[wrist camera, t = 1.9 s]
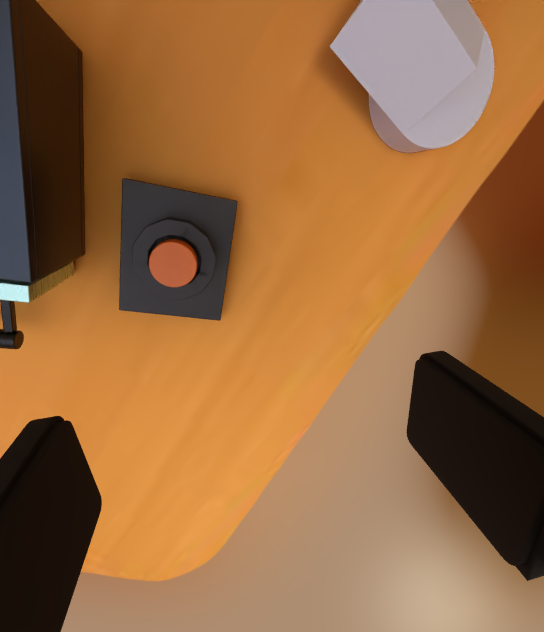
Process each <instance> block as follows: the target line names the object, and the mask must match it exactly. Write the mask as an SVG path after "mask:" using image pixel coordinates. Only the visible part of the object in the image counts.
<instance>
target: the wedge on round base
mask: <svg viewBox="0 0 544 632" xmlns="http://www.w3.org/2000/svg"><path fill="white" fill-rule="evenodd" d="M330 48H331V49H332V50H333V51H334V53H335V54H336V55H337V56H338V57H339V59H340V60H341V61H342V62H343V63H344V65H345V66H346V67H347V68H348V69H349V70H350V72H351V73H352V74H353V75H354V76H355V78H356V79H357V80H358V81H359V82H360V84H361V85H362V86H363V87H364V88H365V89H366V91H367V92H368V93H369V111H370V116H371V120H372V123H373V126H374V129H375V130H376V132H377V134H378V136H379V137H380V138H381V140H382V141H383V142H384V143H385V144H386V145H388V146H389V147H391V148H392V149H394V150H396V151H400V152H404V153H413V152H420V151H425V150H431V149H436V148H441V147H445V146H448V145H450V144H452V143H454V142H456V141H458V140H459V139H460V138H462V137H463V136H464V135H465V134H466V133H467V132H468V131H469V130H470V129H471V128H472V127H473V126H474V125H475V123H476V122H477V120H478V119H479V117H480V116H481V114H482V112H483V110H484V108H485V106H486V104H487V101H488V99H489V96H490V93H491V89H492V84H493V78H494V54H493V49H492V44H491V41H490V38H489V36H488V34H487V32H486V30H485V28H484V26H483V25H482V23H481V21H480V20H479V18H478V16H477V15H476V13H475V12H474V10H473V8H472V7H471V5H470V3H469V2H468V0H361V1H360V3H359V4H358V6H357V7H356V9H355V10H354V11H353V13H352V14H351V16H350V17H349V19H348V20H347V22H346V23H345V25H344V26H343V28H342V29H341V31H340V32H339V33H338V35H337V36H336V38H335V39H334V41H333V42H332V44H331V45H330Z"/></svg>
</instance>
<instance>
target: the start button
mask: <svg viewBox="0 0 544 632" xmlns="http://www.w3.org/2000/svg"><path fill="white" fill-rule="evenodd" d="M197 263H198V261H197V255H196V253H195V251H194V249H193V248H192V247H191V246H190V245H189V244H188V243H186V242H184V241H182V240H179V239H167V240H164V241H162V242H161V243H159V244H158V245H157V246H156V247H155V249H154V250H153V251H152V253H151V255H150V257H149V268H150V271H151V274H152V275H153V277H154V278H155V279H156V280H157V281H158V282H159V283H161V284H163V285H165V286H168V287H181V286H184V285H186V284H188V283H189V282H190V281H191V280H192V279H193V278H194V276H195V274H196V271H197Z"/></svg>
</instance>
